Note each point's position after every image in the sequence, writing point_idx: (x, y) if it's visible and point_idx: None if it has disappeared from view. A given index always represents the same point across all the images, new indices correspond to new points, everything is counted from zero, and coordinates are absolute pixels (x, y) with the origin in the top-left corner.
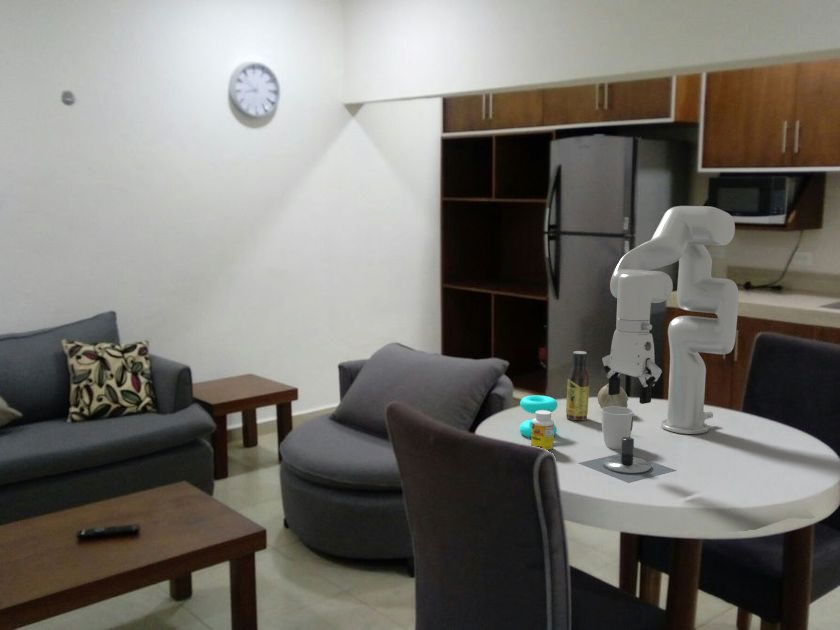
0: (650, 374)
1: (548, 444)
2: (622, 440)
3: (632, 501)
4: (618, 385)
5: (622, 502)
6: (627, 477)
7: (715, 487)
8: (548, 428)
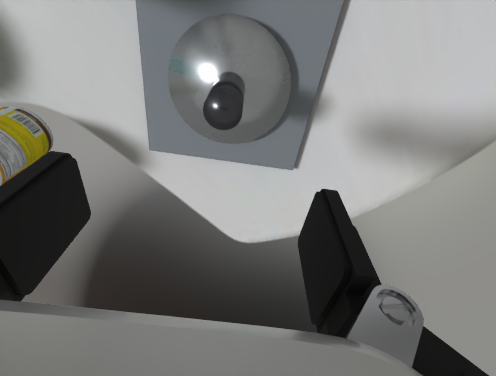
0: (378, 364)
1: (39, 147)
2: (216, 127)
3: None
4: (38, 202)
5: None
6: (275, 147)
7: (473, 25)
8: (7, 171)
